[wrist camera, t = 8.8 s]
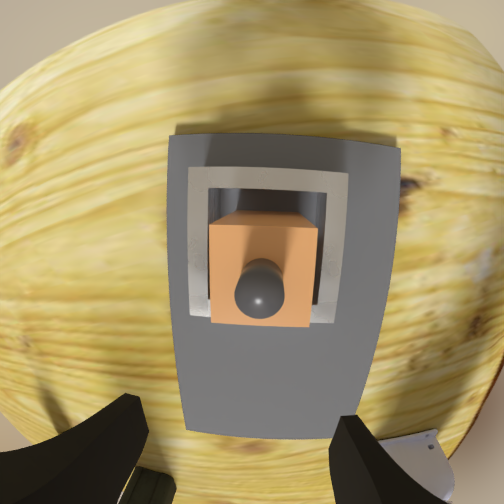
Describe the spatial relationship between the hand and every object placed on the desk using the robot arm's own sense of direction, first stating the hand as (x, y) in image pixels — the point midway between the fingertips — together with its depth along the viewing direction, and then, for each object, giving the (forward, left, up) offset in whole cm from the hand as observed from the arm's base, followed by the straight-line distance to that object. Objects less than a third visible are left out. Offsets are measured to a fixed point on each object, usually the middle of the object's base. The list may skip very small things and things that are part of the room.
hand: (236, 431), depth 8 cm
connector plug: (0, -5, -9) cm, 10 cm away
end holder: (0, -5, -10) cm, 11 cm away
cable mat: (-1, 0, -10) cm, 10 cm away
